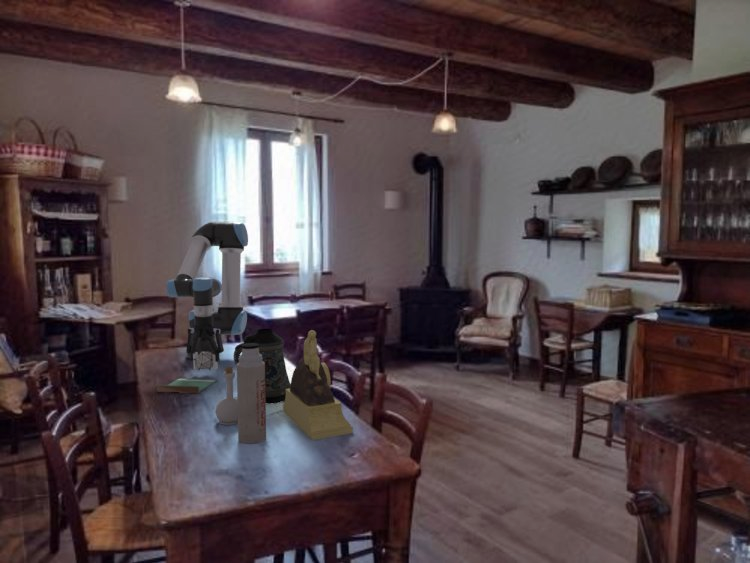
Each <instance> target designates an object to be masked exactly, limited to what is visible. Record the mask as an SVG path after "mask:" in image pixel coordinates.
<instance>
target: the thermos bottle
mask: <svg viewBox="0 0 750 563" xmlns="http://www.w3.org/2000/svg"><path fill="white" fill-rule="evenodd" d="M258 347H259V344H257V343H246V344H242V345H241V348H242V352H241V354H240V356H239V358H238V359H239V363H237V366H236V393H237V394H236V395H237V396H236V398H237V405H238V423H237V434H238V435H237V436H238V437H237V439H238V441H239V442H240V443H243V444H257V443H261V442H264V441H265V440H266V438H267V409H266V408H267V406H266V405H267V404H266V398H265V363H264V362H263V361H262V359H263V358H262V355H261V354H260V353H259V348H258Z"/></svg>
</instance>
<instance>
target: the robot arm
mask: <svg viewBox="0 0 750 563" xmlns="http://www.w3.org/2000/svg"><path fill="white" fill-rule="evenodd" d="M189 243H190V245H189V248H188V251H187V253H186V254H185V257H184V260H183V262H182V264H181V266H180V269H179V270H178V273H177V276H175V279H174V278H173V279H169V280H167V282H166V286H165V290H166V294H167V296H168V297H171V298H193V309H192V310H190V311H189V312H188V328H187V334H188V335H187V341H186V342H187V344H186V350H185V351H186V353H185V356H186V359H188V358H189V360H190V361H192V363H193V370H196V369H199V366H198V364H197V362H196V360H193V359H196V358H197V356H198V355H199V354H200V353H201V352H200V350H202V352H211V351H212V350H213V351H212V354H213V365H212V367H213V371H215V370H217V369H219V362H220V361H221V360H220V358H221V357H220V354H222V353H224V351H225V349H224V343H223V340H222V335H223V336H235V335H236V336H238V335H242V334H243V333H244V332H245V330H246V326H247V323H248V322H247V321H248V314H247V310H245V309H244V306H243V305H242V304H241V265H242V264H241V261H242V260H241V257H242V255H241V254H242V253H243V252H244V251H245V247H247V246H248V244H249V235H248V229H247V227H246V225H245V224H244V223H243V222H241V221H211V222H207V223H205V224H203V225H201V226H200V227H199V228H198V229H197V230H196V231H195V232H194V233H193V235H192V236H191V238H190V242H189ZM211 247H218V250H219V251H220V252H221V255H222V256H221V257H222V258H221V259H222V260H221V262H222V263H221V281H220V280H219V279H216V278H211V277H207V276H206V277H202V276H201V277H197V275H198V273H199V270H200V268H201V266H202V263H203V261H204V259H205V256H206V254H207V252H208V251H209V250H210V249H211ZM220 293H221V302H220V304H219V305H218V306H217V310H216V309H215V307H214V306H213V304H214V303H213V298H215V297H217V296H219V295H220Z"/></svg>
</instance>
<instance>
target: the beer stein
mask: <svg viewBox="0 0 750 563" xmlns="http://www.w3.org/2000/svg"><path fill="white" fill-rule="evenodd" d="M246 343H257V344H259V347H258V348H259V353H260V354H261V355H262V358H263V359H262V361H263V362H264V363H265V398H266V405H269V404H270V405H271V403H273V404H279V403H282V401H283V402H285V398H286V389H289V388H290V386H291V380H290V379H289V376H288V371H287V367H286V360H285V355H284V349H283V348H284V345H285V341H284V339H283V338H282V337H281V336H279V334H277V333H275V332H274V331H273V329H272V328H260V329H257V332H255V333H252V334H248V335H246V336H244V337H243V342H241V343H239V344H237V345H236V346H235V347H234V352H233V361H234V364H235V367H237V363H239V359H238V358H239V356H240V355H241V354H242V348H241V345H242V344H246ZM278 402H279V403H278Z"/></svg>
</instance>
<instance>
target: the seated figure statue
mask: <svg viewBox="0 0 750 563" xmlns="http://www.w3.org/2000/svg"><path fill="white" fill-rule="evenodd" d="M316 336H317V332H316V331H315V330H313V329H311V330H309V331H308V333H307V337H306V339H305V340H304V343H303V357H302V358H301V359H300V360H298V362H297V364H296V366H295V369H294V370H293V372H292V377H291V380H290V384H291V386H290V388H289V389H286V398H285V401H284V403H283V406H282V410H283V411H282V412H283V414H285V415H286V416H287V418H289V419H290V420H291V422H293V423H294V424H295V425H296V426H297V427H298V428H299V429H300V430H301V431H302V432H303V433H305V435H306V436H307V437H308V438H309V439H311V441H316V440H322V439H326V438H333V437H337V436H343V435H349V434H353V433H354V430H353V428H354V427H353V426H352V425H351V424H350V422H349V421H348V419H346V418H345V416H344V412H343V409H342V402H341V401H340V400H338V399H336V398H335V397H334V393H333V391H332V389H331V385H332V384H331V381H332V380H331V373H330V368H329V367H328V365H327V363H325V362H321V360H320V357H319V355H318V354H317V353H318V351H317V350H318V349H317V348H318V342H317V338H316Z"/></svg>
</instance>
